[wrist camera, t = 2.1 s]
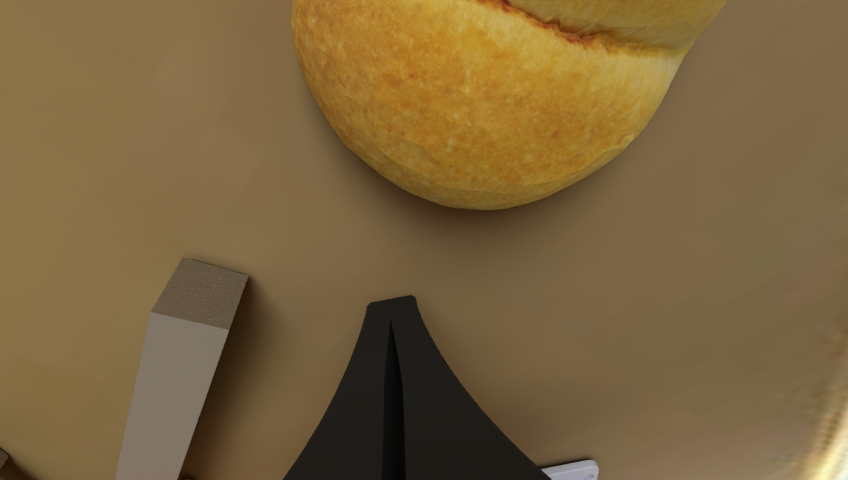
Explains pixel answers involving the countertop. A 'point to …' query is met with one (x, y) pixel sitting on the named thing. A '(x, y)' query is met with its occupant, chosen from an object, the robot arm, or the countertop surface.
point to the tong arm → (177, 368)
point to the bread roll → (491, 86)
